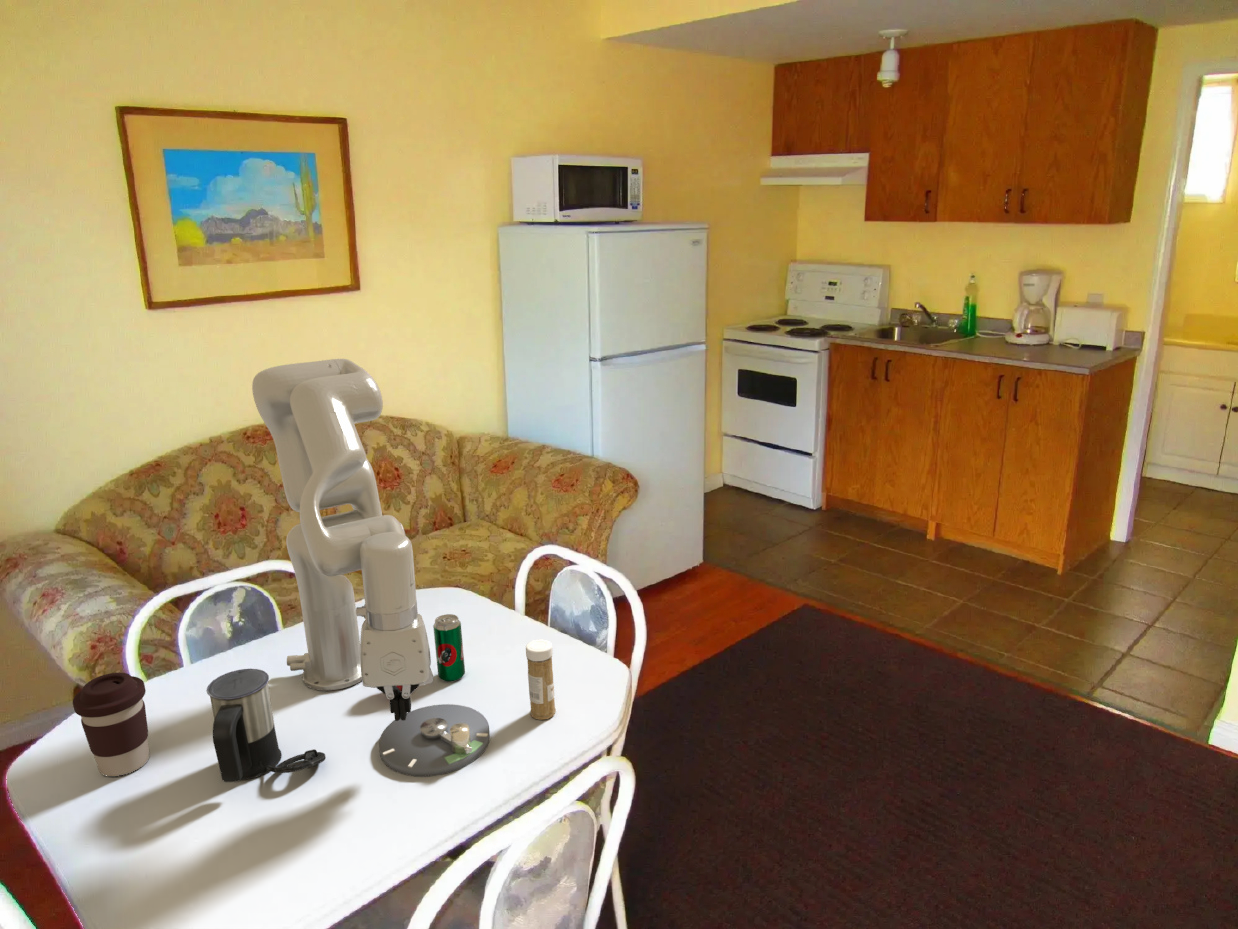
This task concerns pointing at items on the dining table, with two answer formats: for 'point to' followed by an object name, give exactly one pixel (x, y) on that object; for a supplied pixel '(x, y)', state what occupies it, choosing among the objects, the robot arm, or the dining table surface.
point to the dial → (431, 741)
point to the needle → (458, 732)
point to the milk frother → (248, 728)
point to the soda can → (449, 648)
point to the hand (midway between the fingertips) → (401, 715)
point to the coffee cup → (115, 722)
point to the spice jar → (540, 679)
